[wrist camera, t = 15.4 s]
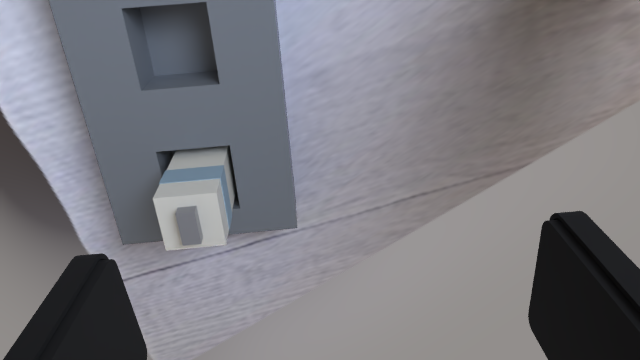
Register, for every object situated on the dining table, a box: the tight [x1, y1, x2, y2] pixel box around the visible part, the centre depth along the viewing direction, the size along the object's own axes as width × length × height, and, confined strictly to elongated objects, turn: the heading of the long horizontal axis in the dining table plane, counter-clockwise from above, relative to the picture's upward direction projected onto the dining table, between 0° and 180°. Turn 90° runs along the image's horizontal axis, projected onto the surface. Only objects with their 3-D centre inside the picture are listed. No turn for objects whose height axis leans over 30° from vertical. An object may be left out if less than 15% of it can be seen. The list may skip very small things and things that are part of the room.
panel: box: [49, 0, 297, 245], centre depth 35 cm, size 14×28×4 cm, turn 4°
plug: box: [153, 145, 236, 251], centre depth 35 cm, size 4×4×11 cm
